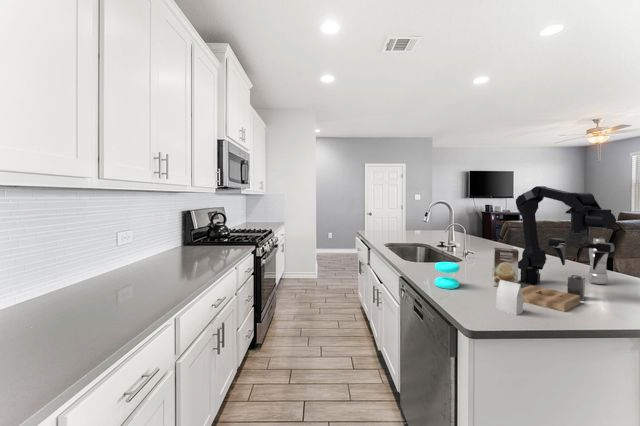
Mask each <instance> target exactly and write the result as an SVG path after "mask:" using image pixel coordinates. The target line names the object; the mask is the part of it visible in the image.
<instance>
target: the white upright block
mask: <svg viewBox="0 0 640 426" xmlns="http://www.w3.org/2000/svg"><path fill="white" fill-rule="evenodd" d="M521 289H522V284H521V283H512V282H508V281H504V280H500V282H499V286H498V287H497V290H496V302H495V303H496V304H495V305H496V306H495V307H496V310H498V309H499V310H498V311H501V310H502V311H501V312H504V311H505V313H508V314H512V315H514V314H515V315H514V316H518V315H521V314H523V313H524V312H523V311H524V306H523V305H524V302H523V294H522V290H521Z"/></svg>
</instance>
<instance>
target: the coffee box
mask: <svg viewBox="0 0 640 426" xmlns="http://www.w3.org/2000/svg"><path fill="white" fill-rule="evenodd" d="M492 252H493V253H492V254H493V257H492V279H491V280H492V281H491V284H492V286H493V287H496V288H498V286H499V282H500V280H504V281H508V282H512V283H517V284H519V283H518V282H519V268H518V262H519V255H520V253H519V250H518V248H517V249H515V248H506V247H505V248H503V247H502V248H501V247H493V251H492Z"/></svg>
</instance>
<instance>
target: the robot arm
mask: <svg viewBox="0 0 640 426" xmlns="http://www.w3.org/2000/svg"><path fill="white" fill-rule="evenodd" d="M544 198H545V199H546V198H547V199H551V200H554V201H555V200H556V201H558V202H562V203H563V204H565V205H566V206H568V207H570V208H569V209H568V210H566V211H565V214H569V215H570V226H569V227H570V228H569V230H568V231H569V232H568V234H567V235H566V236H565V238H561V237H560V238H557V237H551V238H549V239H548V240H547V246H548V247H551V249H553V250H555V251H556V253H557V254H558V257H559V260H560V261H561V264H562V266H565V264H566V248H575V249H583V248H584V249H589V248H592V249H596V250H597V251H596V252H594V253H595V257H594V263H593V270H595V269H596V267H597V265H598V263H599V261H600V260H601V258H602V257H603V256H604V254H607V253H608V254H609V253H612V252H614V251H615V244H614V243H613V242H605V243H604V242H599V243H597V244H594V243H593V242H592V243H591V237H590V235H591V228H593V229H603V230H604V229H605V230H610V229H613V228H614V227H615V226H616V224H617V219H616V216H615V215H614V213H612V209H603V208H602V207H601V206H600V204H599V202H597V200H596V198H595V196H594V194H593V193H590V192H569V191H565V190H561V189H556V188H552V187H548V186H545V185H544V186H543V185H539V186H538V185H537V186H536V185H535V186H534V187H533V188H531V189H530V190H528V191H525V192H523V193H521V194H520V195H518V196H517V198H516V199H515V204H516V209H517V211H518V212H519V213H520V215H521V218H522V227H523V236H524V245H525V247H524V249H523V251H522V255H521V256H522V257H521V259H519V260H518V270H520V280H518V282H519V283H522V284H527V285H531V286H535V285H538V284H540V283H541V273H540V270H543V268H544V266H545V264H546V262H547V261H546V260H548V258H547V255H546V250H544V249H542V248H541V246H540V245H539V234H538V226H537V220H536V219H537V218H536V214H537V211H538V209H539V203H541V202H542V201H543V200H544Z"/></svg>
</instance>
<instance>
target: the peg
mask: <svg viewBox="0 0 640 426" xmlns="http://www.w3.org/2000/svg"><path fill="white" fill-rule="evenodd" d="M585 283H586V278H585V277H582V276H581V275H575V274H574V275H573V274H572V275H570V276H568V277H567V291H566V293H570V294H575V295H580V302H582V301H583V300H585V286H586V285H585Z"/></svg>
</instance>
